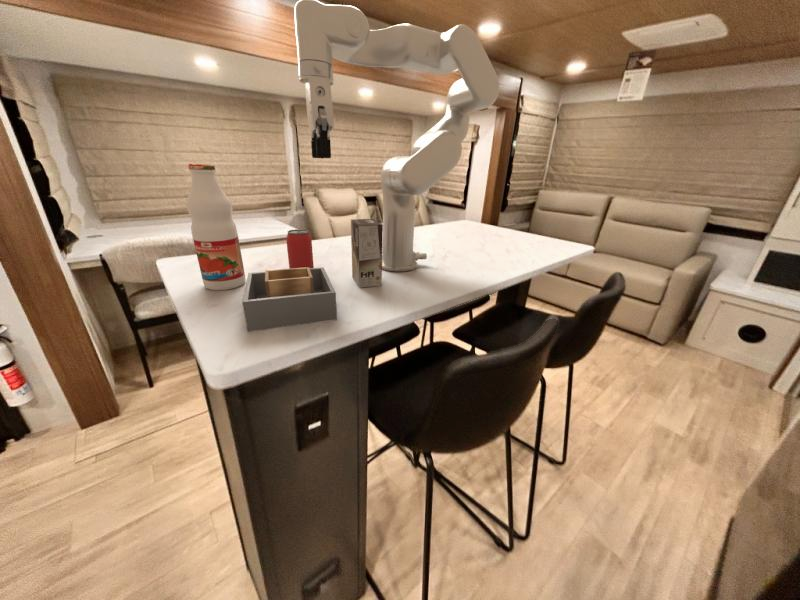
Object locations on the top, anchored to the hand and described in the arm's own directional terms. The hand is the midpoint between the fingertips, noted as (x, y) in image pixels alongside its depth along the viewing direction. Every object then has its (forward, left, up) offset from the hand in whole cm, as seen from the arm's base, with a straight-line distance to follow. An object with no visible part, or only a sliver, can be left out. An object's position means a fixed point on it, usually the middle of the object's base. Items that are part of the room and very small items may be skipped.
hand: (321, 158), depth 77 cm
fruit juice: (+26, +2, -31) cm, 40 cm away
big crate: (+11, +21, -30) cm, 39 cm away
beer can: (+7, -2, -31) cm, 31 cm away
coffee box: (-9, +9, -31) cm, 33 cm away
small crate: (+11, +21, -30) cm, 38 cm away
